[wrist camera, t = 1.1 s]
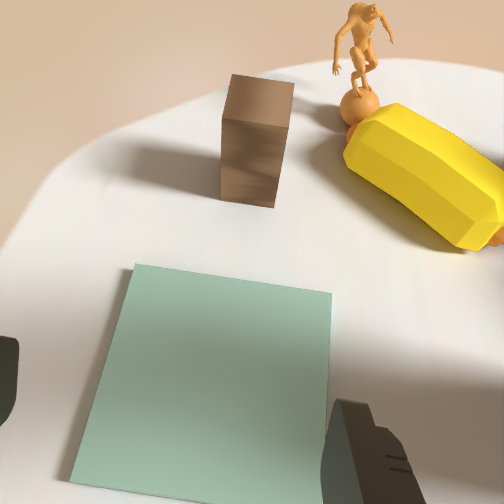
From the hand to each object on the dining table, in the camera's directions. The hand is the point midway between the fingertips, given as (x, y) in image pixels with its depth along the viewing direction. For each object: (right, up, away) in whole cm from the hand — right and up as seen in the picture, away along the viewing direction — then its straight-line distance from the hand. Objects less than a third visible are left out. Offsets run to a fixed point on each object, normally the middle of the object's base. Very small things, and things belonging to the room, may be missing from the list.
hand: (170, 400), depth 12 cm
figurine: (+12, +18, +39) cm, 45 cm away
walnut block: (+2, +10, +33) cm, 35 cm away
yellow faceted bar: (+18, +9, +34) cm, 40 cm away
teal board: (-1, -6, +23) cm, 24 cm away
